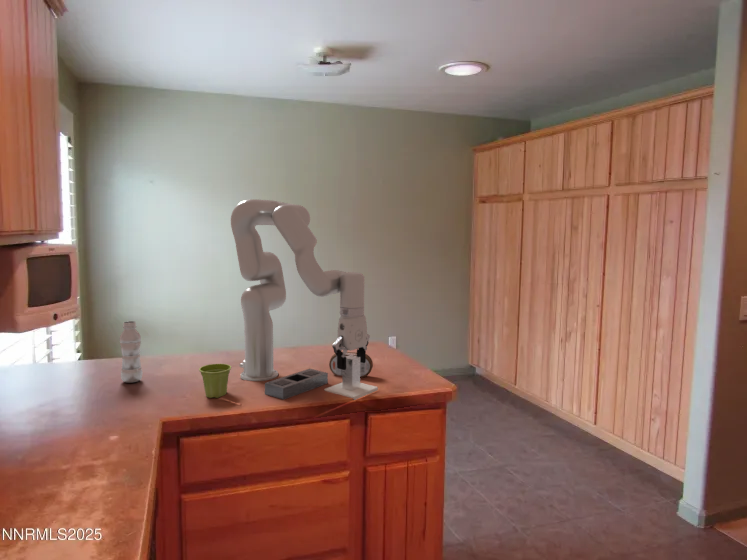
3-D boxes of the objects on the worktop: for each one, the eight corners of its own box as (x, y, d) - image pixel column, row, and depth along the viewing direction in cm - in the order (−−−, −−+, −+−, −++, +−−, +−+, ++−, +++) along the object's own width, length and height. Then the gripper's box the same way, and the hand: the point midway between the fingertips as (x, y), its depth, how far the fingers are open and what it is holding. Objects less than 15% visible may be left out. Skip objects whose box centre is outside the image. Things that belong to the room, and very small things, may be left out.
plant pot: (211, 402, 158) (210, 374, 157) (193, 395, 164) (193, 367, 163) (237, 395, 165) (237, 367, 164) (220, 388, 171) (219, 361, 170)
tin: (372, 376, 186) (373, 352, 185) (371, 378, 183) (372, 354, 182) (330, 374, 188) (330, 350, 187) (328, 376, 185) (328, 353, 184)
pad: (324, 391, 169) (324, 388, 169) (348, 382, 178) (348, 379, 178) (354, 400, 162) (354, 396, 162) (377, 390, 171) (377, 387, 171)
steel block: (342, 388, 170) (342, 357, 168) (350, 385, 173) (350, 354, 172) (352, 390, 167) (352, 359, 166) (360, 387, 170) (360, 356, 169)
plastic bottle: (134, 377, 181) (131, 319, 178) (147, 381, 177) (144, 321, 175) (116, 382, 175) (113, 322, 173) (129, 386, 172) (126, 325, 170)
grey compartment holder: (264, 395, 165) (264, 382, 164) (309, 380, 181) (309, 368, 180) (283, 401, 160) (283, 387, 160) (327, 384, 176) (327, 372, 176)
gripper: (343, 317, 158) (343, 374, 160) (378, 309, 172) (377, 361, 174) (324, 314, 162) (324, 369, 164) (359, 307, 176) (359, 357, 178)
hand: (351, 365), depth 169 cm, fingers open, 9 cm apart
